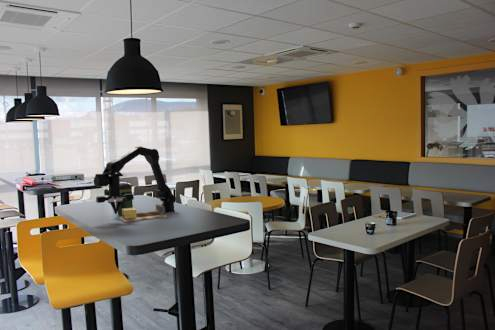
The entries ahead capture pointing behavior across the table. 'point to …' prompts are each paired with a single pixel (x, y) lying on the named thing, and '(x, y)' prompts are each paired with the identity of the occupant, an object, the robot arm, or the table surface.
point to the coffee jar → (126, 203)
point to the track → (147, 214)
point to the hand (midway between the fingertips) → (115, 213)
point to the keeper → (129, 213)
